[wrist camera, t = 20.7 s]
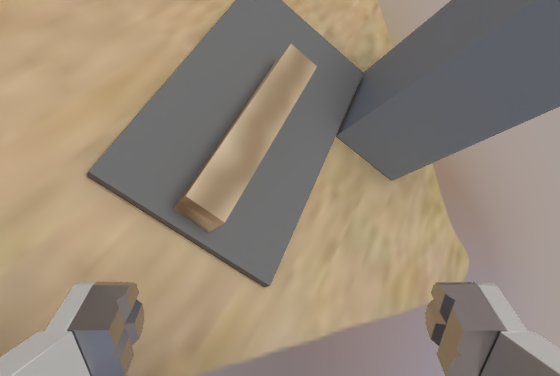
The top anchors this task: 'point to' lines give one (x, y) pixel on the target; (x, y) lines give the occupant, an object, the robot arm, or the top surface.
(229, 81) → the rubber mat
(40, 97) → the top surface
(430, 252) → the top surface
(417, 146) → the slate block
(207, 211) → the maple rod
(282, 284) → the top surface
